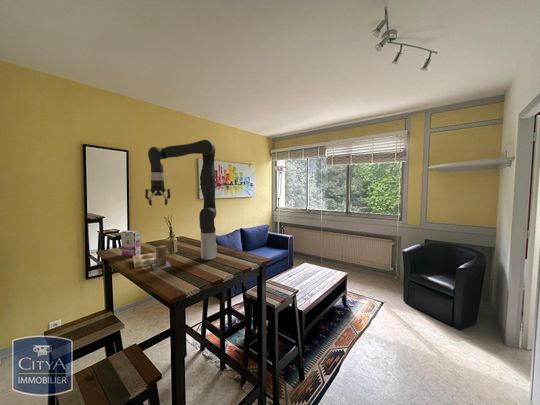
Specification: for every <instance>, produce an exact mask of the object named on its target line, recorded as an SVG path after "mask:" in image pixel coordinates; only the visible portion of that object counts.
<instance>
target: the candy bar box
mask: <svg viewBox="0 0 540 405" xmlns="http://www.w3.org/2000/svg"><path fill="white" fill-rule="evenodd" d="M120 238H121V239H120V241H121V242H120V243H121V246H120V247H121V256H122V257H129V258H130V257H131V258H133V256H136V255H142V249H141V248H142V247H141V246H142V245H141V243H142V242H141V231H140V230H127V229H126V230H122V231H120Z"/></svg>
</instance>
